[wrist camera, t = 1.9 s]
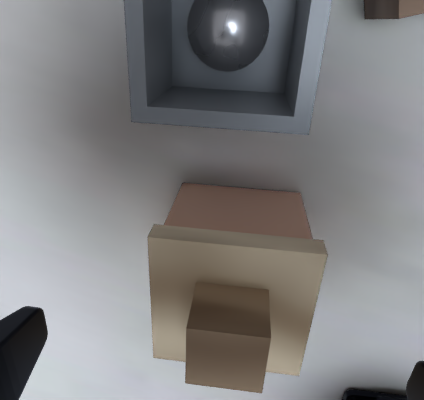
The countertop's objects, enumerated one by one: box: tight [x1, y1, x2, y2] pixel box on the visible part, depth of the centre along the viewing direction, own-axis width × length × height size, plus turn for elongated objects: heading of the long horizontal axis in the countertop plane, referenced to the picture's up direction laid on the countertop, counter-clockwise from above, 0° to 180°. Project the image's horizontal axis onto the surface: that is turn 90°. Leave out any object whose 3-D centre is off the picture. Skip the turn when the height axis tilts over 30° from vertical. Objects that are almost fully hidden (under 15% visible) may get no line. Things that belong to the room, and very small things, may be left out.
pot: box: [164, 183, 312, 239], centre depth 18 cm, size 6×6×5 cm
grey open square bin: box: [124, 0, 332, 135], centre depth 13 cm, size 6×6×5 cm
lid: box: [148, 224, 328, 393], centre depth 15 cm, size 7×7×4 cm
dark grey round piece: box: [187, 0, 269, 72], centre depth 14 cm, size 3×3×2 cm
